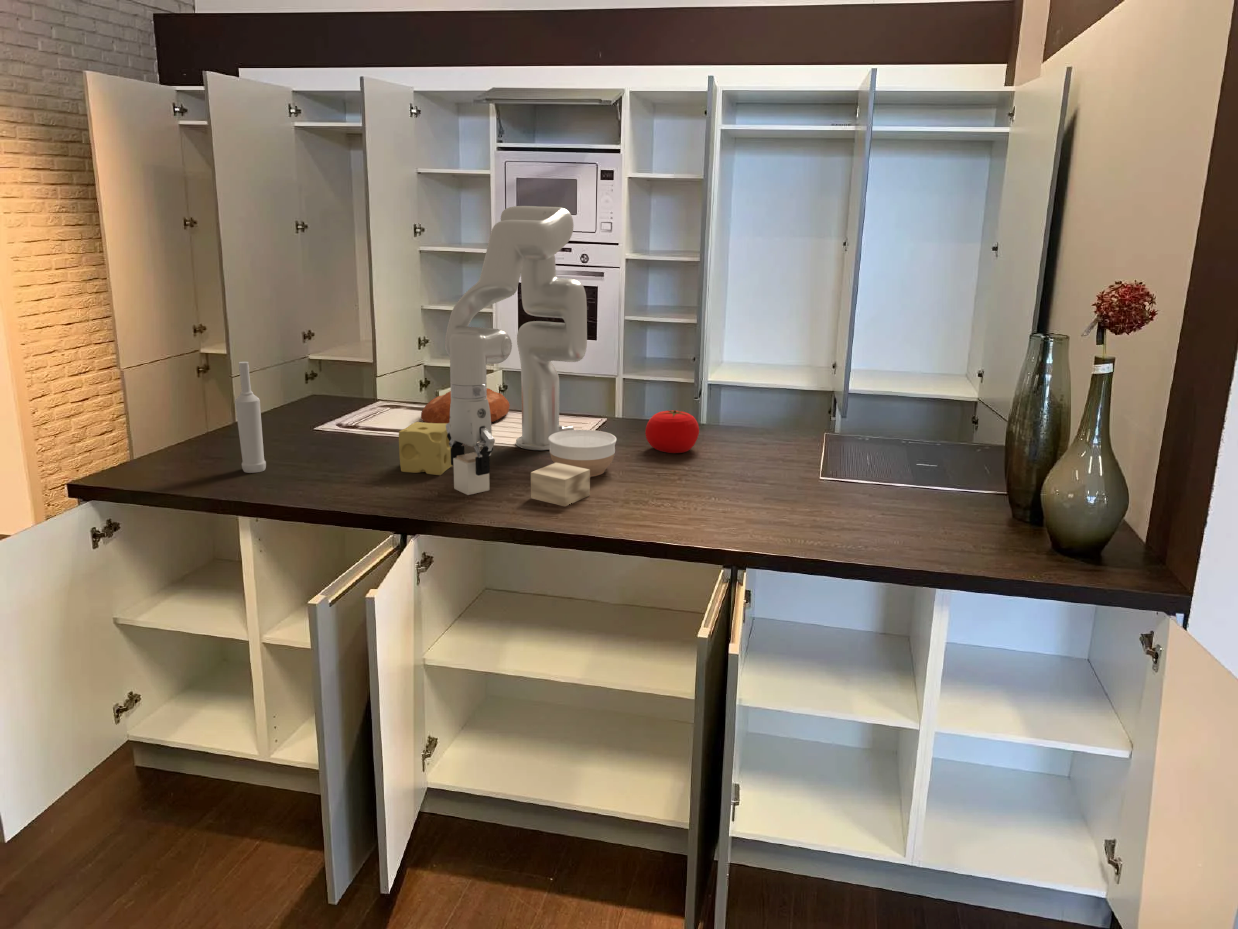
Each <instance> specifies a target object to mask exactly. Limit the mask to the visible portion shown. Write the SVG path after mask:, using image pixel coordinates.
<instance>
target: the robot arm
mask: <svg viewBox="0 0 1238 929" xmlns="http://www.w3.org/2000/svg"><path fill="white" fill-rule="evenodd" d="M574 226H575V225H574V219H573V216H572V213H571V212H570V211H569V210H568V209H566V208H564V207H561V206H559V207H558V206H539V205H537V206H535V205H518V206H517V205H513V206H508V207H506V208H504V209H503V210H502V212H501V214H500V220H499V221H498V222H497V223H495V224H494V225H493V227H492V229H491V231H490V235H489V239H488V244H487V247H486V252H485V256H484V259H483V264H482V267H481V268H482V269H481V272H480V276H479V279H478V281H477V282H476V283H475V284H474V285H473V286H471V287H470V288H469V289H468V290H467V291H466V292H465V293H464V294H463V295H462V296H461V297H460V298H459V300H458V301H457V302H456V303H455V305H454V306H453V308H452V309H451V313H450V316H449V320H448V323H447V327H446V332H445V340H444V347H445V351H446V354H447V355H448V356H449V370H450V372H449V375H450V391H451V404H450V422H449V423H448V424H446V430H447V434H448V435H447V437H448V439H449V441H450V442H449V446H450V447H452V448H451V465H453V458H457V456H458V455H463V454H465V445H466V446H468V447H472V448H474V452H475V453H476V454H477V456H478V457H475V460H476V475H478V476H479V475H484V474H489V475H490V472H491V470H490V469H491V466H490V456H492V452H493V450H494V445H495V442H496V441H495V440H496V439H495V437H493V433H492V432H493V428H492V422H491V415H490V408H489V403H488V400H487V399H486V398H487V388H488V387H487V365H489V364H490V365H491V364H492V365H495V364H502V363H503V362H505V361H506V360H507V359H508V358H509V357H510V355H511V353H512V348H513V345H512V344H513V343H512V339H511V336H510V335H509V334H508V332H506V331H504V330H502V329H498V328H491V327H490V328H489V327H481V326H480V327H478V326H477V327H476V326H469V325H470V324H471V321H472V320H473V319H474V317H475V316H476V315H477V314H478V313H479V312H480V311H482V310H483V309H485V308H488V307H489V306H492V305H494V304H497V303H499V302H502V301H504V300H506V299H508V298H511V297H513V296H514V295H516V292H517V291H518V287H519V282H520V286H521V289H520V290H521V303H522V308H523V310H524V312H525V313H526V314H527V315H530V316H534V317H542V318H556V319H562V320H563V321H564V322H554V321H544V320H543V321H542V320H536V321H535V320H533V321H528V322H525V323H523V324H522V325H521V326H520V327H519V328H518V331H517V334H516V344H517V345H516V346H517V348H518V354H519V359H520V360H519V362H520V374H521V375H520V376H521V377H520V379H521V386H520V387H521V435H520V436H519V437H517V439H516V440H515V444H516V446H517V447H519V448H521V449H525V450H529V451H530V450H531V451H550V443H549V441H548V437H549V436H550V435H552V434H554V433H557V432H561V431H567V430H575V428H574V426H573V425H566V426H563V425H560V376H559V373H558V371H557V369H556V367H555V366H554V364H553V363H552V362H553V361H554V362H563V363H578V362H580V361H582V360H583V359H584V357H585V356H586V352H587V347H588V346H587V345H588V323H587V322H588V309H587V308H588V307H587V304H588V303H587V302H588V301H587V293H586V289H585V287H584V285H583V284H582V283H581V282H580V281H579V280H577V279H574V278H564V277H563V278H560V277H558V275H557V270H556V256H555V255H556V254H557V253H558V252H559V251H560V250H561V249H563V248H564V247H565V246H566V245H567V244H568V243H569V241H570V240H571V238H572V236H573V232H574ZM452 467H454V465H453V466H452Z"/></svg>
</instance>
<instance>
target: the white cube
mask: <svg viewBox="0 0 1238 929" xmlns="http://www.w3.org/2000/svg"><path fill="white" fill-rule="evenodd" d="M475 457H478V456H477V454H476V451H473V452H470V453H468V452H467V453H464V454H463V455H458V456H457V458H453V465H454V466H453V487H454V490H456V491H459V492H460V493H463V494H465V495H466V496H469V495H474V494H477V493H478V494H479V493H482V492H483V493H484V492H488V491H490V473H489V474H484V475H479V476H478V475H476V460H475Z"/></svg>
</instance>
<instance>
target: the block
mask: <svg viewBox="0 0 1238 929" xmlns="http://www.w3.org/2000/svg"><path fill="white" fill-rule="evenodd" d="M589 496H591V477H590V469H585V468H580V467H576V466H571V465H566V464H561V463H557V462H556V463H551V464H548V465H546V466H543V467H541V468H538V469H536V470H534V471H530V498H531V499H533V500H537V501H541V502H545V503H549V504H553V505H558V506H561V507H567V506H570V505H571V503H572V504H574V503H576V502H578V501H581V500H583V499H584V498H587V497H589ZM569 504H570V505H569Z"/></svg>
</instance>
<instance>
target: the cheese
mask: <svg viewBox="0 0 1238 929" xmlns="http://www.w3.org/2000/svg"><path fill="white" fill-rule="evenodd" d="M446 424H448V423H426V422H424V421H422V422H420V421H416V422H413V423H411V424H410V425H408V426H407V427H405V428H403V429H401V430H399V431H398V454H399V466H400V471H401V472H402V473H414V474H415V473H417V474H418V473H425V474H427V475H435V476H441V475H443V474H444V473H445V472H446V471H447V470H449V469H450V468H452V467H454V466H453V465H451V448H452V447H450V446H449V442H450V441H449V439H448V437H447V435H448V434H447V430H446Z"/></svg>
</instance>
